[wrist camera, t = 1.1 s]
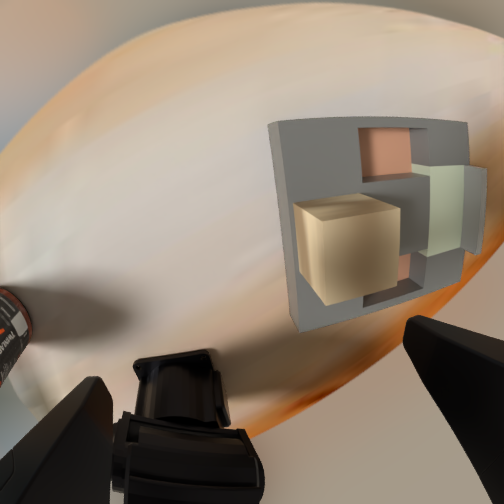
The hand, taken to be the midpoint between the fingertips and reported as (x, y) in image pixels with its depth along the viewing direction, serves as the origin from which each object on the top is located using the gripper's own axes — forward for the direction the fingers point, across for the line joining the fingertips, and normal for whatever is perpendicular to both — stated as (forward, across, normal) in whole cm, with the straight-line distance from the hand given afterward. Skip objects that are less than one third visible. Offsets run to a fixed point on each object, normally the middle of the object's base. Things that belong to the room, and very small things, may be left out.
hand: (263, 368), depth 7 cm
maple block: (+10, -6, 0) cm, 12 cm away
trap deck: (+13, -12, 0) cm, 18 cm away
